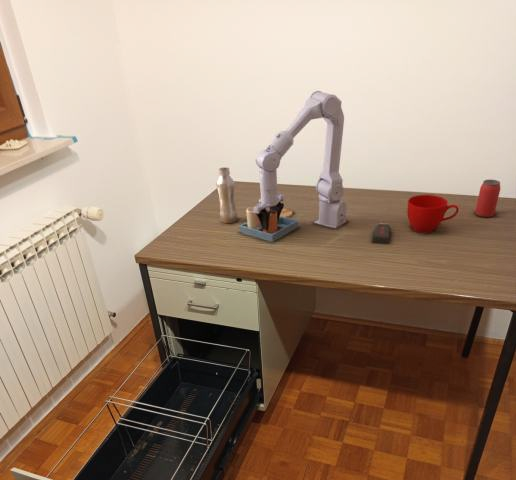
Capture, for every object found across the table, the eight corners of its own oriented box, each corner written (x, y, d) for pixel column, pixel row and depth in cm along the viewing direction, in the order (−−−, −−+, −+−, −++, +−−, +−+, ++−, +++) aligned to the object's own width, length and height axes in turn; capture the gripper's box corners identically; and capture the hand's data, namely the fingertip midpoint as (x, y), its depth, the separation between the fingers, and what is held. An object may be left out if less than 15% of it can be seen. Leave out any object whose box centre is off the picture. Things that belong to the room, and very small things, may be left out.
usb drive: (372, 242, 167) (373, 234, 165) (375, 228, 176) (376, 221, 174) (388, 243, 165) (389, 235, 164) (390, 229, 175) (391, 222, 173)
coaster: (297, 212, 192) (297, 211, 192) (283, 220, 186) (283, 219, 186) (278, 208, 197) (278, 207, 196) (264, 215, 191) (264, 214, 191)
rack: (298, 228, 180) (298, 220, 178) (272, 243, 171) (272, 235, 169) (265, 219, 188) (265, 212, 186) (239, 233, 179) (238, 225, 177)
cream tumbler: (264, 229, 179) (263, 208, 174) (255, 234, 176) (254, 213, 171) (254, 226, 182) (252, 205, 177) (244, 231, 179) (243, 210, 174)
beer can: (491, 211, 183) (498, 178, 176) (496, 217, 178) (504, 184, 171) (472, 211, 184) (479, 179, 177) (477, 218, 179) (484, 185, 172)
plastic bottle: (235, 225, 185) (231, 171, 173) (218, 225, 186) (212, 171, 174) (239, 219, 190) (235, 166, 178) (222, 218, 191) (217, 166, 179)
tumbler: (280, 233, 175) (280, 211, 170) (271, 238, 172) (270, 216, 167) (269, 230, 178) (268, 208, 173) (260, 235, 174) (259, 213, 170)
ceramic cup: (456, 237, 167) (462, 209, 161) (405, 235, 170) (408, 207, 164) (452, 222, 177) (457, 195, 171) (403, 221, 180) (407, 194, 174)
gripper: (272, 180, 171) (274, 217, 179) (245, 192, 163) (248, 231, 171) (288, 183, 168) (289, 221, 176) (262, 196, 159) (264, 235, 167)
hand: (270, 226), depth 173 cm, fingers closed on tumbler, 5 cm apart
